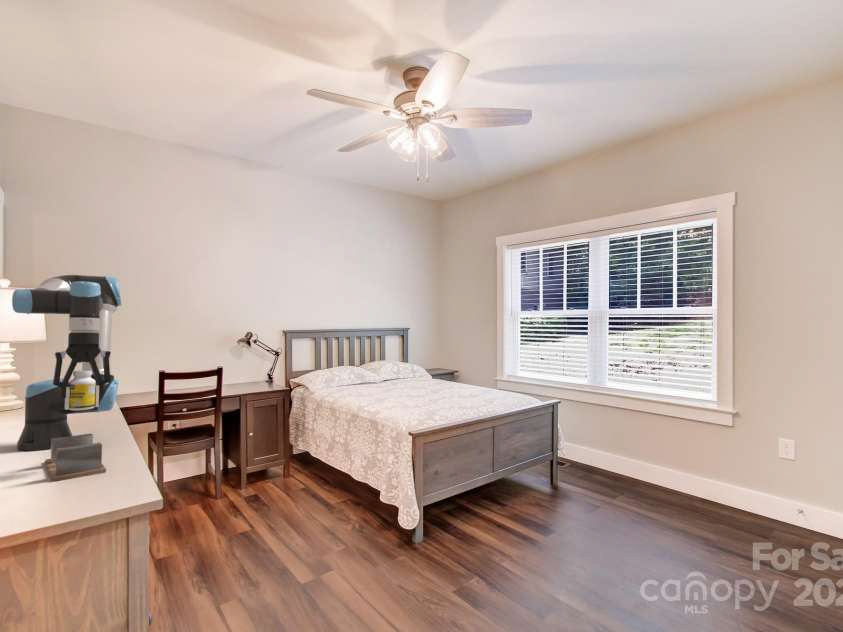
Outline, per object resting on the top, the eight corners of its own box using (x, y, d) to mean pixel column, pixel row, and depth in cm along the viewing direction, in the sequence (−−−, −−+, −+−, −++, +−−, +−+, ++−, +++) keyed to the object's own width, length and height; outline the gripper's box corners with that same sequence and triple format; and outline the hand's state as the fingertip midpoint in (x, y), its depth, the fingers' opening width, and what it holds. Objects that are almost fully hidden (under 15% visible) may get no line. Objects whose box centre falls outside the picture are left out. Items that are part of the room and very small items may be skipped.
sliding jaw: (49, 458, 139) (49, 436, 139) (88, 452, 146) (89, 431, 146) (51, 463, 134) (52, 440, 134) (92, 457, 141) (92, 435, 141)
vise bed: (44, 462, 138) (45, 436, 138) (92, 455, 146) (93, 430, 147) (52, 481, 121) (53, 452, 121) (106, 472, 129) (106, 444, 129)
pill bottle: (63, 410, 133) (64, 371, 134) (86, 407, 139) (87, 370, 140) (77, 411, 131) (78, 371, 131) (100, 408, 137) (101, 370, 137)
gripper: (44, 331, 127) (41, 413, 125) (124, 332, 140) (122, 405, 139) (41, 332, 132) (38, 410, 131) (119, 332, 146) (117, 403, 144)
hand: (81, 407), depth 135 cm, fingers closed on pill bottle, 6 cm apart
